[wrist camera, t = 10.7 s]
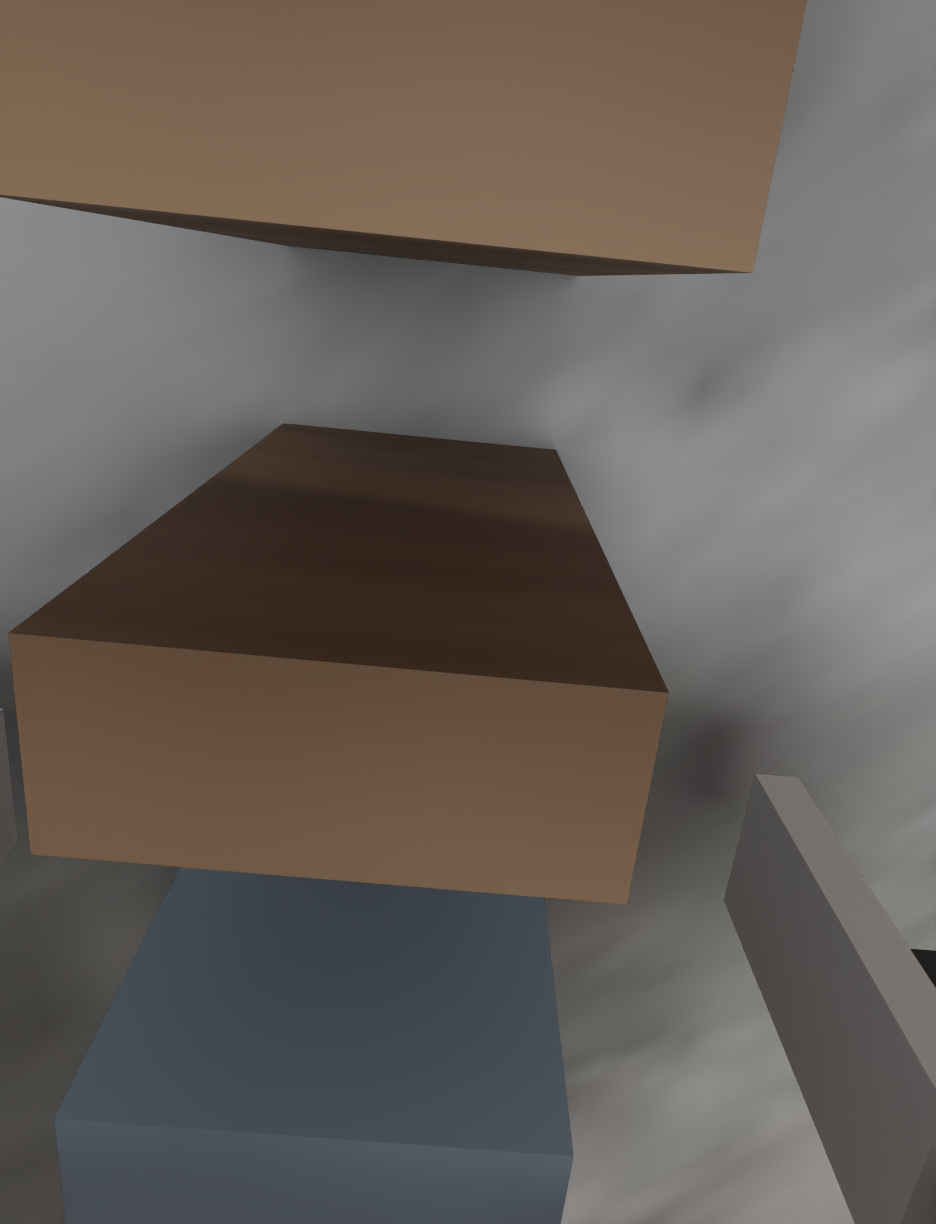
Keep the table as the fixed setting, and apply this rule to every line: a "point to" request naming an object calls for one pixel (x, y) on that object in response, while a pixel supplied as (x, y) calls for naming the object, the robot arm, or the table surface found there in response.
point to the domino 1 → (411, 124)
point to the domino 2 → (350, 678)
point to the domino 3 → (324, 1062)
